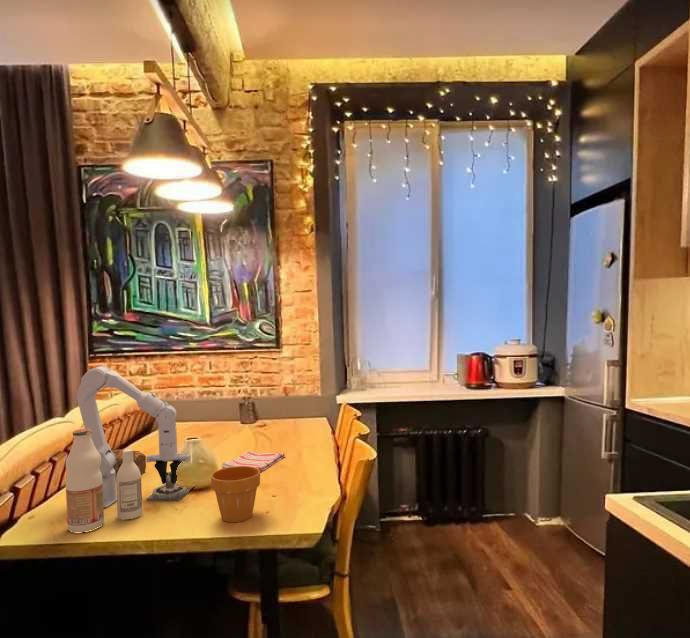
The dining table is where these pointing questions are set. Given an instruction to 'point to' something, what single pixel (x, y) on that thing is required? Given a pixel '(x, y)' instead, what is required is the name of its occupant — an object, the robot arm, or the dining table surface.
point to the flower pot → (236, 491)
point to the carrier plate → (167, 495)
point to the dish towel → (255, 460)
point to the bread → (137, 459)
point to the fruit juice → (84, 484)
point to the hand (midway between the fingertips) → (169, 482)
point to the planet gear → (169, 485)
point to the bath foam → (128, 488)
